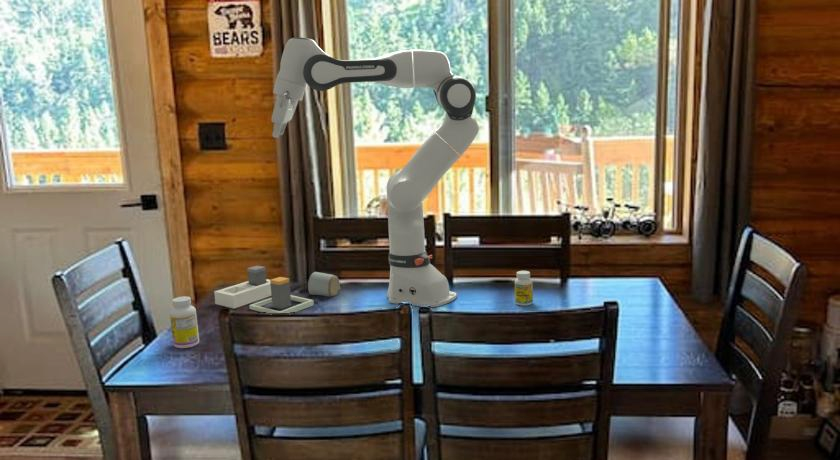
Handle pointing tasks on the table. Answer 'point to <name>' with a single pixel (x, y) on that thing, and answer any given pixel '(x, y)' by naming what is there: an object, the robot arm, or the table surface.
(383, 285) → the table surface
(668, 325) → the table surface
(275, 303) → the grey plug
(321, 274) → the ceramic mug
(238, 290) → the socket strip
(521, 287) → the supplement bottle
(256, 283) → the twin plug
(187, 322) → the supplement bottle
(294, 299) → the white square frame
